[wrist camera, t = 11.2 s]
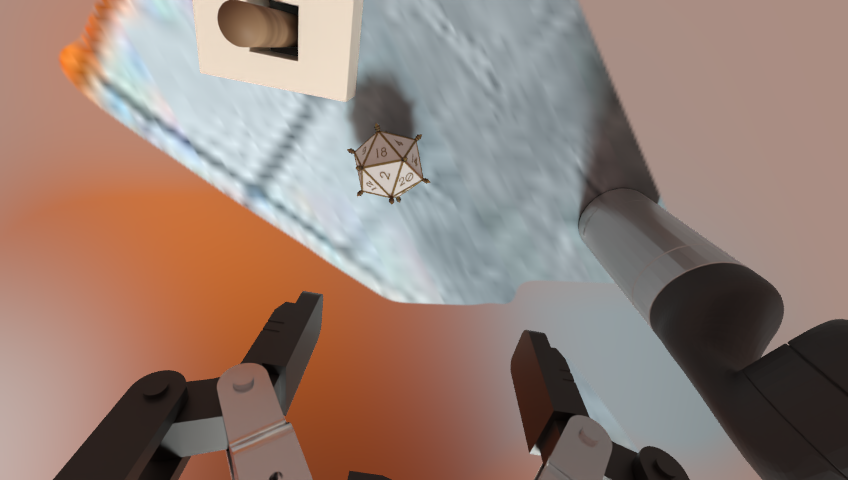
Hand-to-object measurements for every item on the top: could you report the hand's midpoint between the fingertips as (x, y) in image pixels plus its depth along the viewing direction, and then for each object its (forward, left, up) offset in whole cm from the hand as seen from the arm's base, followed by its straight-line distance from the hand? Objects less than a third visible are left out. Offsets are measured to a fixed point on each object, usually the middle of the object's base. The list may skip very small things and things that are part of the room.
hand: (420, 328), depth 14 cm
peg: (+16, -8, -32) cm, 36 cm away
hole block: (+16, -8, -32) cm, 36 cm away
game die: (+4, +3, -32) cm, 32 cm away
